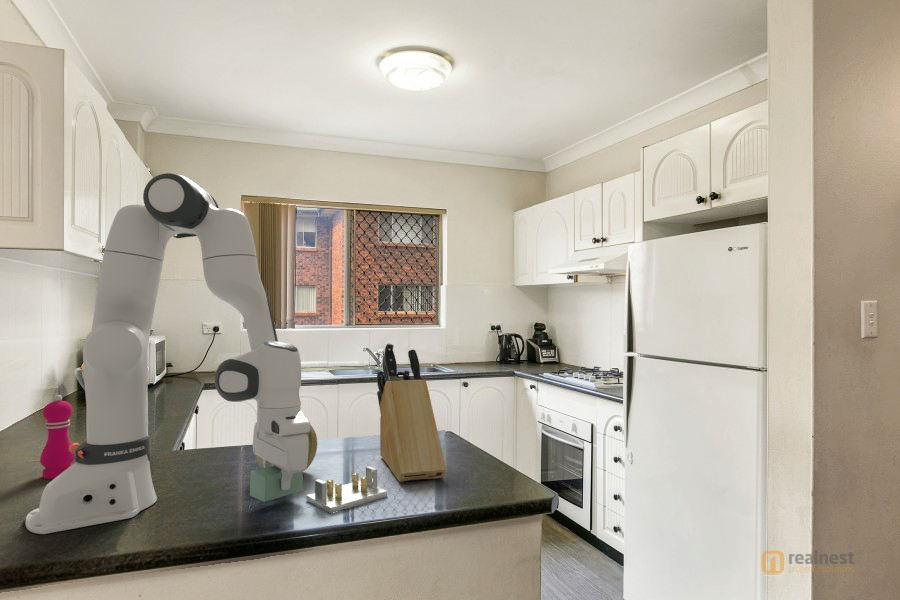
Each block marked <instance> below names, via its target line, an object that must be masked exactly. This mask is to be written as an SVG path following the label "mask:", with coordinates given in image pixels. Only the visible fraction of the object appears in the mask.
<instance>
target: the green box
mask: <svg viewBox="0 0 900 600" xmlns="http://www.w3.org/2000/svg"><path fill="white" fill-rule="evenodd" d="M303 472H304V471H303ZM303 472H299V473H294V474H293V476H292V479H291V484H290V489H287V490H282V489H281V488H280V487H279V485H280V484H279V480H281V478H282V473H281V469H280V468H278V467H277V466H275V465H274V466H270V467H266V468H262V467H261V468H259V469H254V470H250V473H249V474H250V475H249V496H250V497H253V498H255V499H257V500H260V501H262V502H264V503H265V502H269V501H272V500H275V499H278V498H282V497H285V496H289V495H292V494H295V493H299V492H302V491H303V481H304V480H303V475H304V474H303Z"/></svg>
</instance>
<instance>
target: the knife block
mask: <svg viewBox="0 0 900 600" xmlns="http://www.w3.org/2000/svg"><path fill="white" fill-rule="evenodd" d="M407 353H408V354H407V356H408V359H409V360H408V361H409V364H410V370H411V371H409V370H404V371H398V366H397V360H396V355H395V351H394V345H393V344H392V343H387V344H386V346H385V348H384V352H383V358H382V371H380V370H379V371H378V372H377V374H376V384H377V385H376V386H377V388H378V391H377V392H376V393H377V394H376V395H377V396H376V397H377V401H378V405H379V411H380V412H379V413H380V418H379V419H380V421H379V422H380V423H379V424H380V425H379V427H380V430H379V433H380V434H379V435H380V436H379V438H380V439H379V441H380V442H379V444H380V446H379V448H380V450H379V451H380V457H381V458H382V459H383V461H384V462H385V463H386V465H387V466H388V467H389V469H390V470H391V472H392V474H393V475H394V477H395V478H396V479H397V480H398V482H403V483H404V482H406V481H417V480H431V479H436V480H437V479H439V478H444V477H445V474H446V473H447V468H446V464H445V463H446V462H445V459H444V454H443V449H442V445H441V441H440V440H441V439H440V437H439V431H438V428H437V424H436V418H435V414H434V410H433V406H432V405H433V404H432V402H431V401H432V400H431V396H430V393H429V388H428V383H427V381H426V379H423V378H421V367H420V359H419V357H418V354H417V350H415V349H409V350H408V352H407ZM410 372H412V376H413V379H411V376H410ZM399 376H402V378H400V377H399Z"/></svg>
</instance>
